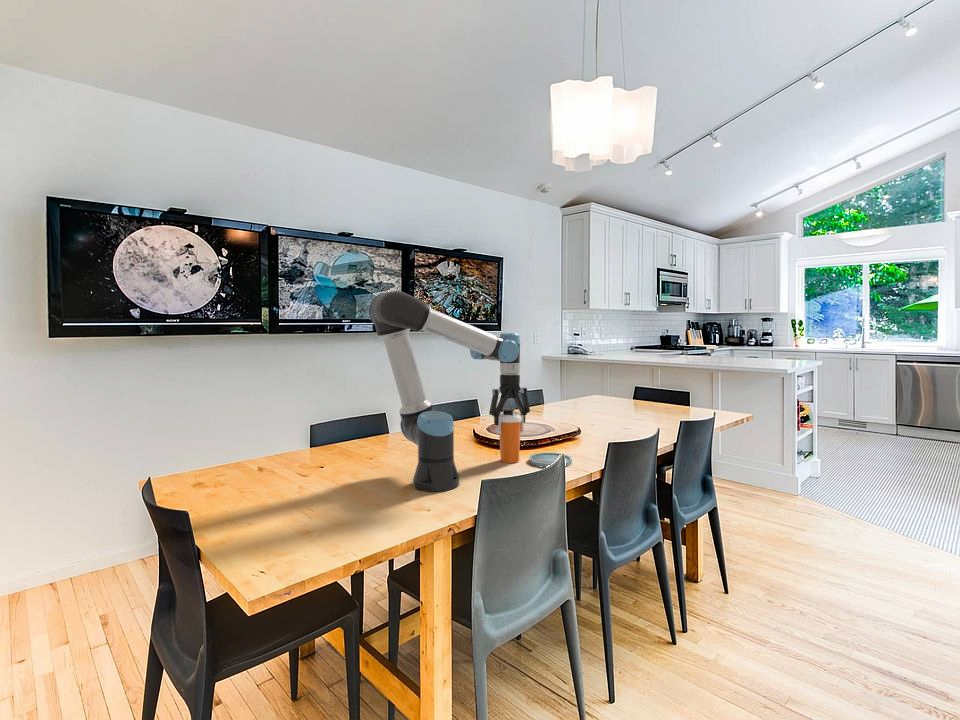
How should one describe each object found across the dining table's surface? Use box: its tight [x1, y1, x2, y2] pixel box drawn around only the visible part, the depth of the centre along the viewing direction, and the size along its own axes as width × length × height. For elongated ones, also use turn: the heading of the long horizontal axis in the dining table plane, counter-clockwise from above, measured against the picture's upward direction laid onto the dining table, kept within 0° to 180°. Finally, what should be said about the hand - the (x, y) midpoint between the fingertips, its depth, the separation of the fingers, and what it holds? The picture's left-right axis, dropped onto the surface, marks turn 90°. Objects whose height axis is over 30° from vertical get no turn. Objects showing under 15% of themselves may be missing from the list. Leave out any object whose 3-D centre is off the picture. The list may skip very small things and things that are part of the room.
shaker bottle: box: [498, 407, 522, 464], centre depth 195 cm, size 9×9×20 cm
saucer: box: [528, 451, 573, 468], centre depth 194 cm, size 16×16×2 cm
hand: (509, 432), depth 195 cm, fingers closed on shaker bottle, 9 cm apart
